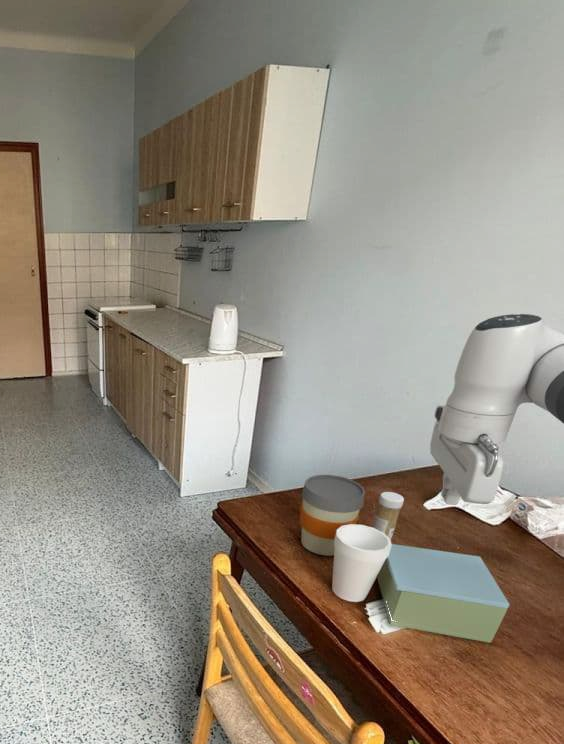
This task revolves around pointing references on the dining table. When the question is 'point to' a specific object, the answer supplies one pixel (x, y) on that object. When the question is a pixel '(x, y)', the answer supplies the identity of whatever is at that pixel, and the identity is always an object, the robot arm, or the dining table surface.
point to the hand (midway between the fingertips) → (448, 500)
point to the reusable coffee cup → (328, 510)
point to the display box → (438, 612)
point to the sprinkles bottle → (387, 512)
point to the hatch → (444, 575)
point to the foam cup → (358, 560)
